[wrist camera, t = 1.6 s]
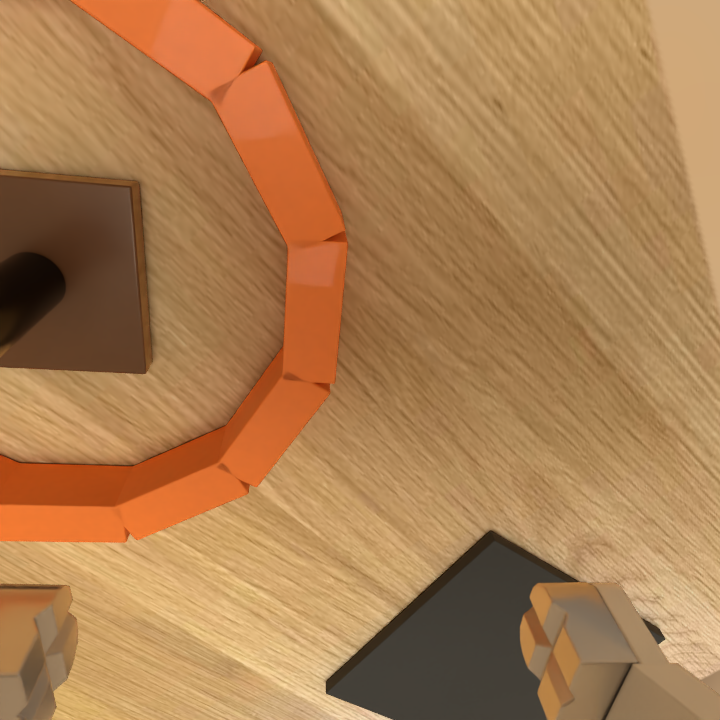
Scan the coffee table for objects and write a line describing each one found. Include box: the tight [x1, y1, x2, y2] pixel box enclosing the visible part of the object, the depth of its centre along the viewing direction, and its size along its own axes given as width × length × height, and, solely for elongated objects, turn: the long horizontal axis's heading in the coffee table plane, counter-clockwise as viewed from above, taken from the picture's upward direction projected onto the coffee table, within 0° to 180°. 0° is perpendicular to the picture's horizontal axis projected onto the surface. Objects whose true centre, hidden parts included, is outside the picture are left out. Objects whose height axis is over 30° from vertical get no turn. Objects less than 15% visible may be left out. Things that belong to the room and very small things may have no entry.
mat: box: [326, 531, 665, 720], centre depth 37 cm, size 16×16×1 cm
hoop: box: [0, 0, 348, 543], centre depth 22 cm, size 24×24×3 cm
